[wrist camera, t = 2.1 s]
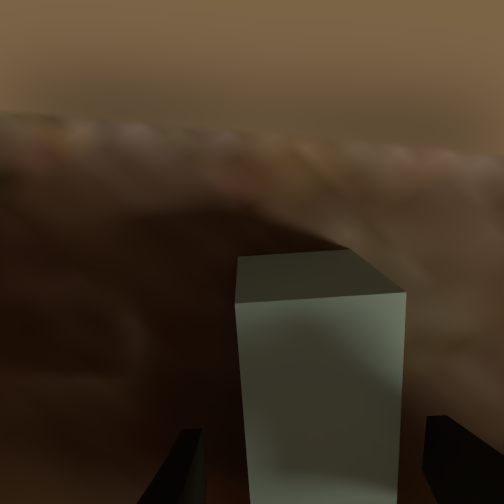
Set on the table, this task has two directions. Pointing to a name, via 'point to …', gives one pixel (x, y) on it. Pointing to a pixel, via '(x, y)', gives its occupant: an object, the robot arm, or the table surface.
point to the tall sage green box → (320, 377)
